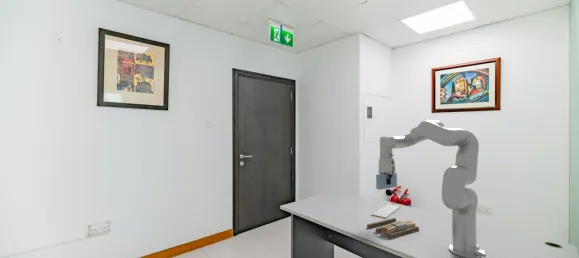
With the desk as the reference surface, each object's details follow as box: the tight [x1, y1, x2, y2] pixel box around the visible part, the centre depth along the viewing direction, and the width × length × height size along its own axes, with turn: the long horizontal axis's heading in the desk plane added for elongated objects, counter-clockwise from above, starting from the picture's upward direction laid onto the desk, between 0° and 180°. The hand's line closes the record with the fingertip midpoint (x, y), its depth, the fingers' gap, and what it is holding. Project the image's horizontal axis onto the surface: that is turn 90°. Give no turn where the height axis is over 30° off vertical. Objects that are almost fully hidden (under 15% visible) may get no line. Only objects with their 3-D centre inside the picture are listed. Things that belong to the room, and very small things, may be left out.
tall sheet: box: [375, 172, 398, 191], centre depth 157 cm, size 2×16×9 cm, turn 117°
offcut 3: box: [403, 220, 417, 229], centre depth 146 cm, size 5×7×4 cm
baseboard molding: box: [370, 203, 401, 220], centre depth 179 cm, size 31×3×12 cm
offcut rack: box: [366, 217, 420, 240], centre depth 146 cm, size 18×24×2 cm
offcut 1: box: [380, 223, 397, 238], centre depth 139 cm, size 5×7×4 cm
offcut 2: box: [390, 220, 406, 232], centre depth 142 cm, size 5×7×5 cm
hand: (386, 183), depth 157 cm, fingers closed on tall sheet, 2 cm apart
